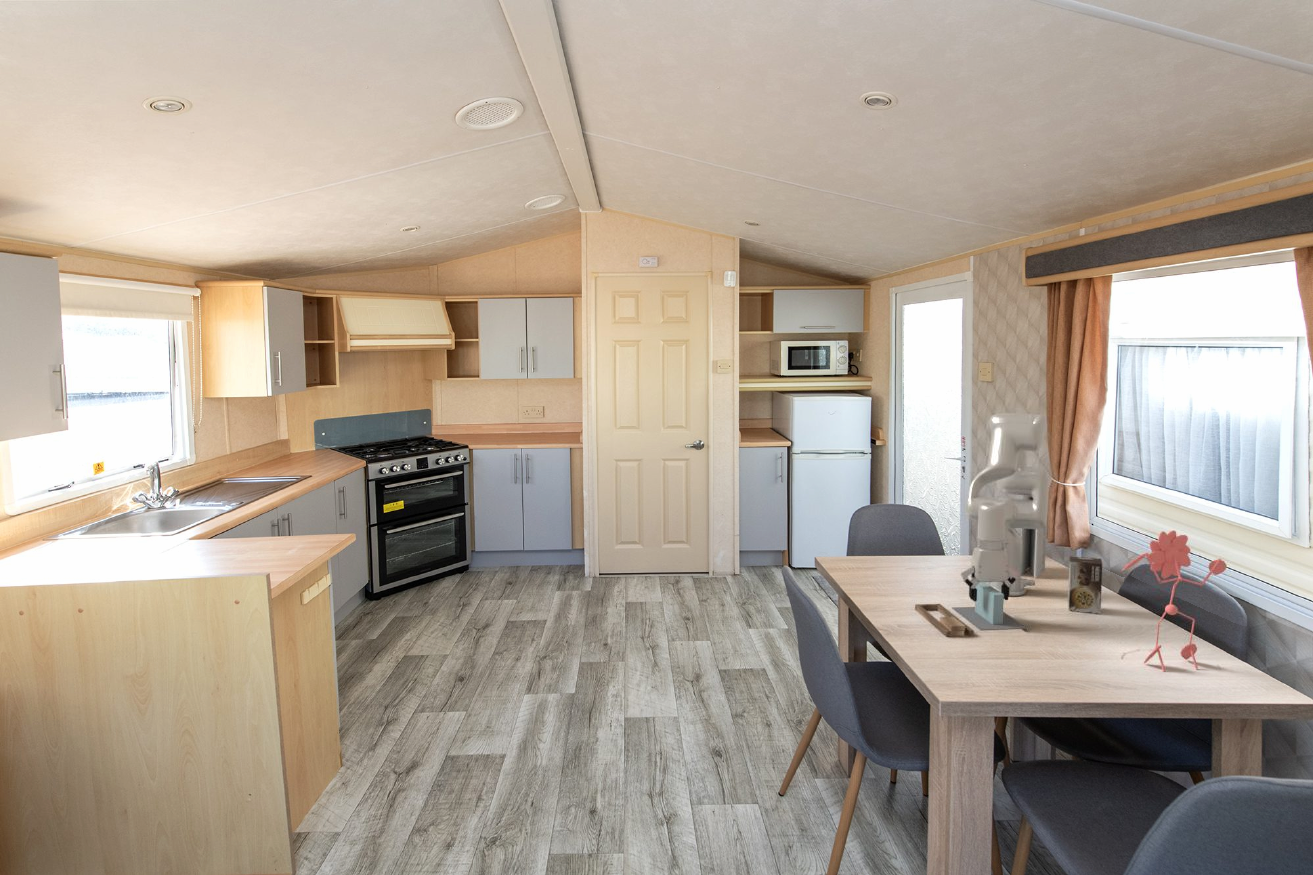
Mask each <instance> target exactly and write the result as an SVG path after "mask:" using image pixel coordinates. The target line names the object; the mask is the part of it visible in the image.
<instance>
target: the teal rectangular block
mask: <svg viewBox="0 0 1313 875" xmlns="http://www.w3.org/2000/svg"><path fill="white" fill-rule="evenodd" d="M976 589H977V601H975V602H974V607H975V612H977V613H978V614H979V615H981V616H982V617H983V618H985V619H986V620H987V621H989V622H990V623H991V624H1003V612H1004V600H1005V599H1004V594H1002V593H1001V592H999V591H998V590H996V589H994V588H993V587H991V586H990V585H988V582H980V583H979V584H978V585H977V586H976Z"/></svg>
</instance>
